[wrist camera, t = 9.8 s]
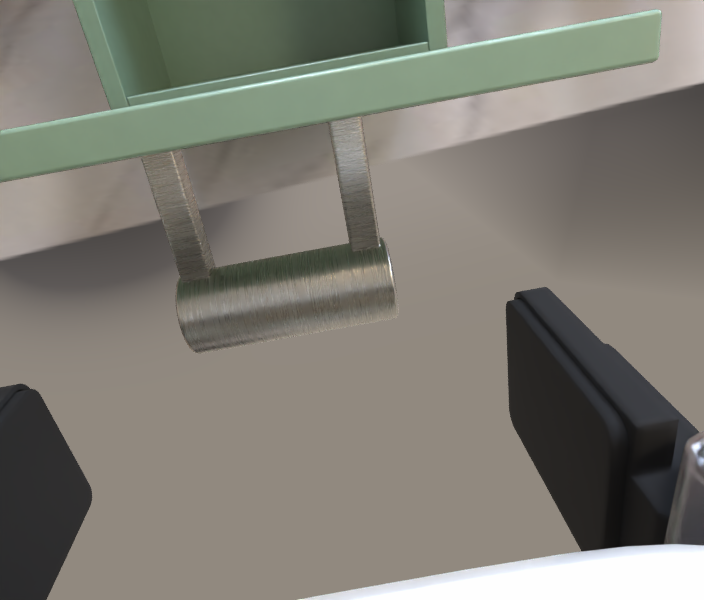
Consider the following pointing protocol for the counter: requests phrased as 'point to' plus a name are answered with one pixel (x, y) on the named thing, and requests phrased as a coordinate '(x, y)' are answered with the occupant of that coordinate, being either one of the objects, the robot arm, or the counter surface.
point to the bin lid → (350, 158)
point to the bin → (244, 41)
